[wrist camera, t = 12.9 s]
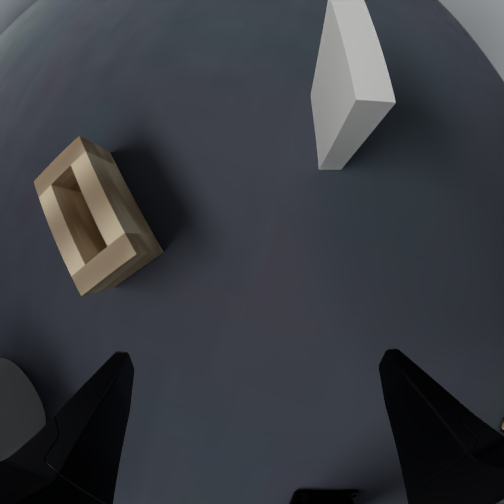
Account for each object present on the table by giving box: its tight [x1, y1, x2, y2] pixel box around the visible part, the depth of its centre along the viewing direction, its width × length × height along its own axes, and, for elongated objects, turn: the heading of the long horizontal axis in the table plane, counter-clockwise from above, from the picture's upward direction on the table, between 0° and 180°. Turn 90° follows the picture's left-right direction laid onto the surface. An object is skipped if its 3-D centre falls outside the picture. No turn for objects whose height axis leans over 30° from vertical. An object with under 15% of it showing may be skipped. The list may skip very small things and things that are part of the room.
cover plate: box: [311, 0, 396, 170], centre depth 15 cm, size 6×2×11 cm, turn 3°
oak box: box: [34, 136, 163, 296], centre depth 19 cm, size 10×5×4 cm, turn 32°
